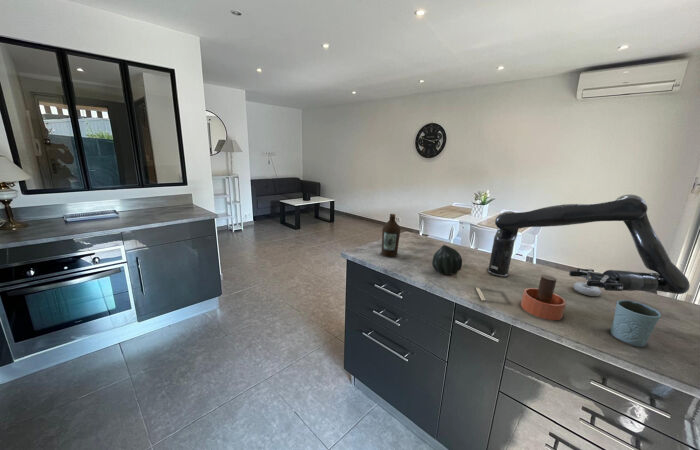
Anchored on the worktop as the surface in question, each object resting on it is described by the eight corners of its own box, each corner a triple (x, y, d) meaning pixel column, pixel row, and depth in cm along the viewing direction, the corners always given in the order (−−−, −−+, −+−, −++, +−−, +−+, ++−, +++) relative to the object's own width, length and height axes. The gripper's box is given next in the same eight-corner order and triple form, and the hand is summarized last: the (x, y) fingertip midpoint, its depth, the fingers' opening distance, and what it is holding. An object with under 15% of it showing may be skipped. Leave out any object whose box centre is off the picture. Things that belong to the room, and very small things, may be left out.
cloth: (475, 288, 122) (476, 287, 122) (501, 292, 119) (502, 291, 119) (481, 300, 111) (481, 299, 111) (510, 304, 109) (510, 303, 109)
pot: (515, 299, 113) (518, 285, 112) (551, 304, 110) (555, 290, 109) (528, 317, 100) (532, 302, 99) (569, 323, 98) (574, 308, 96)
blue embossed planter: (636, 333, 93) (647, 303, 90) (657, 352, 84) (670, 319, 81) (601, 326, 97) (610, 297, 94) (617, 344, 87) (628, 312, 84)
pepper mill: (531, 305, 108) (539, 274, 105) (544, 307, 107) (552, 275, 104) (536, 312, 103) (545, 279, 100) (550, 314, 102) (559, 281, 99)
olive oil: (382, 250, 167) (385, 211, 160) (398, 252, 164) (402, 213, 158) (379, 256, 157) (382, 215, 150) (397, 258, 154) (401, 216, 148)
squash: (473, 267, 132) (459, 240, 138) (450, 272, 126) (437, 244, 131) (454, 275, 144) (443, 250, 149) (433, 281, 137) (422, 254, 143)
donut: (599, 292, 124) (571, 284, 130) (601, 285, 123) (573, 278, 129) (600, 300, 116) (571, 292, 122) (603, 293, 115) (574, 285, 121)
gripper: (608, 264, 107) (567, 261, 107) (644, 279, 93) (597, 277, 93) (603, 281, 108) (562, 278, 109) (638, 298, 95) (591, 296, 95)
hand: (578, 277), depth 101 cm, fingers open, 8 cm apart
